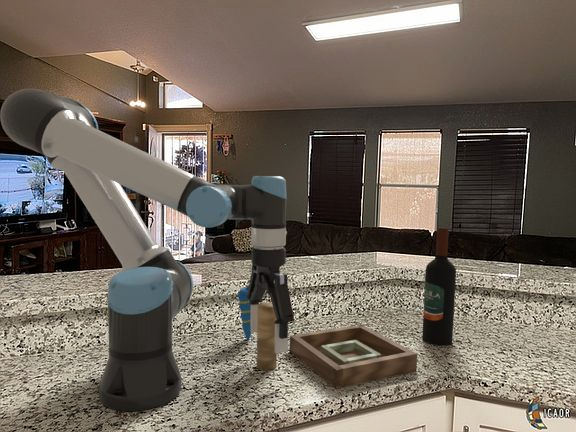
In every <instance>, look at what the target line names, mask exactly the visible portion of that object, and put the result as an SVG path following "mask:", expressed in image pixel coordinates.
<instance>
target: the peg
mask: <svg viewBox="0 0 576 432" xmlns="http://www.w3.org/2000/svg"><path fill="white" fill-rule="evenodd" d="M276 320H277V319H276V315H275V312H274V308H273V305H272V302H271V301H270V302H267V301H266V302H264V301H263V302H262V303H259V304H258V318H257V332H256V368H257V370H260V371H266V372H267V371H274V370H275V369H277V359H278V358H277V355H278V354H276V353H275V324H274V322H275V321H276Z"/></svg>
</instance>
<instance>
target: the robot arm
mask: <svg viewBox="0 0 576 432" xmlns="http://www.w3.org/2000/svg"><path fill="white" fill-rule="evenodd" d="M0 124H1V126H2V129H3V131H4V132H5V134H6V135H7V136H8V138H10V140H12V141H13V142H15V143H16V144H18V145H20V146H22V147H24V148H27V149H30V150H32V151H34V152H37V153H40V154H41V155H43V156H44V157H45V158H46V160H47V162H48V163H49V164H50V166H51V167H52V169H55V170H59V171H62V172H63V173H64V174H65V177H66V178H67V179H68V180H69V182H70V185H72V187H73V188H74V191H75V192H76V193H77V195H78V197H79V199H80V201H82V203H83V204H84V206H85V208H86V210H87V211H88V213H89V214H90V216H91V218H92V219H93V220H94V223H95V224H96V225H97V227H98V228H99V230H100V232H101V234H102V235H103V237H104V238H105V240H106V242H107V243H108V245H109V246H110V248H111V249H112V251H113V253H114V254H115V256H116V258H117V259H118V260H119V263H120V264H121V267H122V268H121V271H120V272H118V273H116V274H115V275H114V276H112V278H111V279H110V280H109V282H108V288H107V289H108V290H107V295H106V301H107V302H106V303H107V329H108V330H107V331H108V358H107V362H106V364H105V366H104V367H105V368H104V371H103V374H102V377H101V380H100V381H99V382H100V383H99V387H98V389H99V393H98V394H99V395H98V398H99V401H100V403H101V404H102V405H103V406H105V407H106V408H108V409H111V410H116V411H122V412H138V411H144V410H145V411H146V410H150V409H154V408H157V407H160V406H164V405H165V404H167V403H170V402H171V401H172V400H174V399H175V398H177V396H179V394H180V393H181V390H182V375H181V372H180V369H179V366H178V363H177V360H176V357H175V355H174V352H173V320H174V318H175V317H176V316H177V315H178V314H179V313H180V311H182V310H183V309H184V308H185V307H186V306H187V304H188V303H189V301H190V299H191V297H192V293H193V291H194V280H193V277H192V276H193V275H192V273H191V271H190V270H189V268H188V267H187V266H186V265H185V264H183V263H182V262H180V261H177V260H176V259H175V258H174V256H173V254H172V253H171V251H170V249H169V248H168V247H165V246H160V245H158V243H157V241H156V239H155V238H154V237H153V235H152V233H151V232H150V230H149V229H148V227H147V226H146V223H145V222H144V221H143V219H142V217H141V215H140V214H139V212H138V210H137V208H135V206H134V204H133V202H132V201H131V199H130V198H129V196H128V194H127V192H126V191H125V190H124V188H123V187H125V188H127V189H129V190H132V191H133V192H136V193H138V194H140V195H142V196H145V197H146V198H148V199H151V200H153V201H155V202H156V203H157V202H158V203H159V204H161V205H163V206H166V207H167V208H170V209H172V210H174V211H177V212H178V213H180V214H182V215H184V216H186V217H188V218H189V220H190V221H191V222H192V223H194V225H196V226H199V227H201V228H215V227H218V226H221V225H223V224H224V223H225V222H226V221H227V220H250V221H251V230H250V232H251V233H250V234H251V235H250V237H251V238H250V240H251V242H250V243H251V246H253V247H252V248H251V275H250V277H249V278H250V279H249V282H248V285H249V287H248V292H247V299H250V300H249V302H250V304H251V334H253V333H257V318H258V304H260V303H263V302H264V300H263V297H264V296H265V293H266V294H267V295H269V298H270V302H271V303H272V305H273V308H274V312H275V315H276V319H277V320H276V321H275V322H274V324H275V353H276V354H277V355H278V354H282V353H288V352H289V323H291V322H294V321H295V317H294V312H293V311H294V310H293V306H292V305H293V304H292V300H291V296H290V290H289V284H288V274H287V273H281V271H280V269H281V266H282V267H283V266H284V265H286V261H287V253H286V252H287V249H286V248H285V246H286V244H287V243H286V242H287V239H286V238H287V234H288V231H287V206H288V205H287V203H288V202H287V201H288V200H287V197H288V196H287V182H286V179H285V178H284V177H283V176H281V175H280V176H279V175H274V176H273V175H271V176H270V175H268V176H267V175H263V176H262V175H253V176H252V179H251V183H250V184H244V185H243V184H219V183H218V184H215V183H212V182H209V181H207V180H205V179H203V178H201V177H198V176H196V175H194V174H192V173H189V172H187V171H186V170H183V169H182V168H179V167H178V166H176V165H173V164H172V163H169V162H168V161H165V160H163V159H160V158H158V157H156V156H154V155H152V154H150V153H148V152H146V151H143V150H141V149H139V148H138V147H135V146H133V145H132V144H129V143H127V142H125V141H122V140H120V139H118V138H117V137H114V136H112V135H110V134H108V133H105V132H104V131H101V130H99V125H98V124H99V123H98V121H97V119H96V117H95V115H94V114H93V113H92V111H91V110H90V109H89V108H87V106H85V105H84V104H82V103H81V102H78V101H77V100H74V99H72V98H70V97H62V96H60V95H57V94H55V93H52V92H48V91H46V90H44V89H39V88H32V87H31V88H22V89H20V90H19V89H18V90H17V91H15V92H13V93H12V94H9V96H8V97H7V98H6V99H5V100H4V101H3V103H2V106H1V109H0ZM251 293H252V294H251Z"/></svg>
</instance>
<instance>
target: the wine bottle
mask: <svg viewBox="0 0 576 432" xmlns="http://www.w3.org/2000/svg"><path fill="white" fill-rule="evenodd" d="M449 233H450V231H449V227H441V226H440V227H439V226H438V227H437V229H436V245H435V246H436V248H435V249H436V250H435V251H436V252H435V257H434V259H432V260H431V261H429V262H428V263H427V265H426V267H425V272H424V273H425V276H424V293H423V294H424V297H423V312H422V314H423V317H422V332H421V334H422V337H421V338H422V341H424V342H425V343H427V344H430V345H434V346H442V347H443V346H450V345H452V344H453V339H454V337H453V336H454V319H455V318H454V315H455V300H456V284H457V283H456V281H457V279H456V278H457V268H456V266H455V265H454V264H453V263H452V262H451V261H450V260H449V258H448V247H449V244H448V243H449V235H450V234H449Z"/></svg>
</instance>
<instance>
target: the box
mask: <svg viewBox="0 0 576 432" xmlns="http://www.w3.org/2000/svg"><path fill="white" fill-rule="evenodd" d="M289 352H290V353H291V354H292V355H293V356H294V357H296V358H297V359H298V360H300V362H302V363H303V364H304V365H306V366H307V367H308V368H309V369H311V370H312V371H313V372H314V373H315V374H317V375H318V376H319V377H321V378H322V380H324V381H325V382H327V383H328V384H329V385H330V386H331V387H332V388H334V389H335V390H339V389H342V388H343V389H344V388H348V387H353V386H357V385H360V384H365V383H369V382H374V381H378V380H382V379H388V378H392V377H397V376H400V375H404V374H405V375H406V374H409V373H414V372H417V368H418V367H417V365H418V363H417V362H418V353H417V352H415V351H413V350H412V349H409V348H408V347H405V346H404V345H401V344H400V343H398V342H397V341H394V340H393V339H390V338H388V337H386V336H384V335H382V334H380V333H378V332H376V331H375V330H373V329H371V328H369V327H367V326H365V325H363V324H358V325H357V324H356V325H350V326H344V327H337V328H331V329H324V330H317V331H312V332H305V333H299V334H293V335H289Z"/></svg>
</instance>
